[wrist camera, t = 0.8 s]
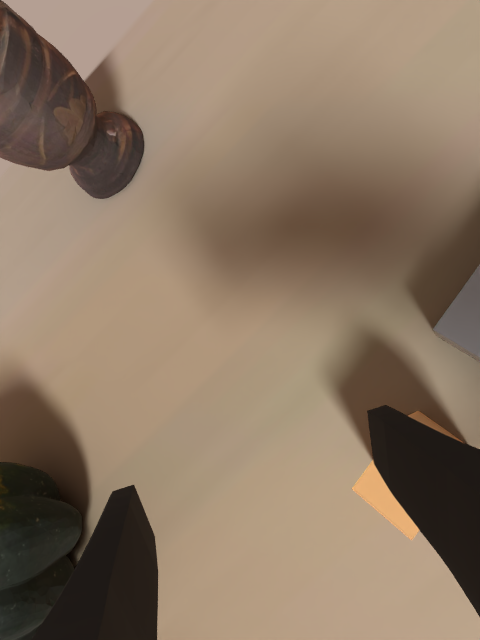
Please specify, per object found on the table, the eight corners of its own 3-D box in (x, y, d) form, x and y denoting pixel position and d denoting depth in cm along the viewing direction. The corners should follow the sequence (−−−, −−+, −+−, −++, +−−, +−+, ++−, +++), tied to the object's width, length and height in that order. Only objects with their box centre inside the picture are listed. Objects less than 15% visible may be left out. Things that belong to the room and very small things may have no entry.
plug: (469, 446, 23) (470, 464, 17) (424, 505, 23) (411, 540, 18) (418, 410, 24) (404, 417, 19) (376, 467, 25) (351, 488, 19)
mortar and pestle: (166, 71, 36) (-113, -221, 19) (194, 152, 34) (-99, -99, 16) (71, 147, 41) (-228, -34, 23) (89, 224, 38) (-231, 86, 21)
